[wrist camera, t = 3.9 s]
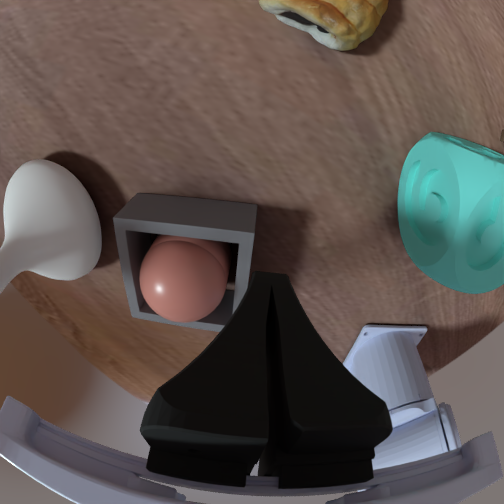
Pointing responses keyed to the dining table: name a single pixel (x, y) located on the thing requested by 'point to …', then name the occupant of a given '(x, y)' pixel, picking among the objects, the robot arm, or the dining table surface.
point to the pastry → (330, 19)
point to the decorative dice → (454, 212)
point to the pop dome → (185, 276)
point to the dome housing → (185, 225)
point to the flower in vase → (48, 224)
